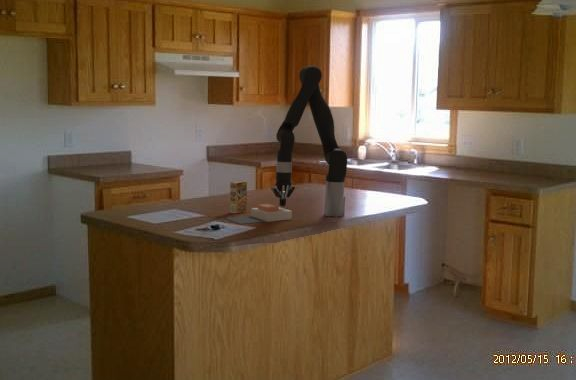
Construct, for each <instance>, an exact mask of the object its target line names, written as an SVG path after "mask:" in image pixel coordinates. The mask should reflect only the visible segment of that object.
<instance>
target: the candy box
mask: <svg viewBox="0 0 576 380" xmlns="http://www.w3.org/2000/svg"><path fill="white" fill-rule="evenodd" d="M229 191H230V192H229V193H230V194H229V213H230V214H235V215H236V214H241V213H247V209H248V206H247V205H248V181H246V180H245V181H244V180H238V181H237V180H236V181H232V182H230V189H229Z"/></svg>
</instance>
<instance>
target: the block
mask: <svg viewBox="0 0 576 380" xmlns="http://www.w3.org/2000/svg"><path fill="white" fill-rule="evenodd" d="M279 207H280V206H277V205H273V204H270V203H264V204H263V203H262V204H257V208H258V209H260V210H263V211H266V212H274V211H279Z"/></svg>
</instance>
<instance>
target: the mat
mask: <svg viewBox="0 0 576 380" xmlns="http://www.w3.org/2000/svg"><path fill="white" fill-rule="evenodd" d="M224 220H226V221H230V222H233V223H235V224H238V225H250V224H257V223H266V221H264V220H261V219H258V218H255V217H252V216H251V215H245V216H235V217H226V218H225V219H224Z"/></svg>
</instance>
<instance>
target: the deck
mask: <svg viewBox="0 0 576 380" xmlns="http://www.w3.org/2000/svg"><path fill="white" fill-rule="evenodd" d="M278 207H279V211H274V212H266V211H263V210H260V209H258V207H251V211H250V216H252V217H255V218H258V219H261V220H264V221H266V222H267V223H268V222H277V221H288V220H292V219H293V214H292V213H293V211H292V210H289V209H286V208H283V207H281V206H278ZM266 222H265V223H266Z"/></svg>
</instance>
